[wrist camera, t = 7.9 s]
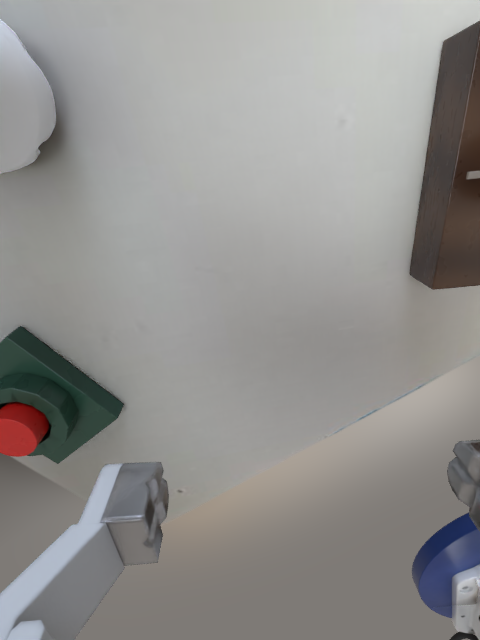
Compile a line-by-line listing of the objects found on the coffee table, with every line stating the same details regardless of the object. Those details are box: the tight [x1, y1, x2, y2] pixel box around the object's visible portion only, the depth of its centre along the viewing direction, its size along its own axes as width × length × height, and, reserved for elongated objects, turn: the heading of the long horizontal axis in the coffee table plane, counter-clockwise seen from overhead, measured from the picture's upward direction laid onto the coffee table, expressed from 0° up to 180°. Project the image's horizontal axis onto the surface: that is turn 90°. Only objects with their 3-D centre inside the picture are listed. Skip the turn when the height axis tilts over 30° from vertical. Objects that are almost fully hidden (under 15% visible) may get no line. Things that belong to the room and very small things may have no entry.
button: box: [0, 402, 49, 457], centre depth 23 cm, size 4×4×2 cm
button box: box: [0, 326, 124, 464], centre depth 25 cm, size 10×8×4 cm
